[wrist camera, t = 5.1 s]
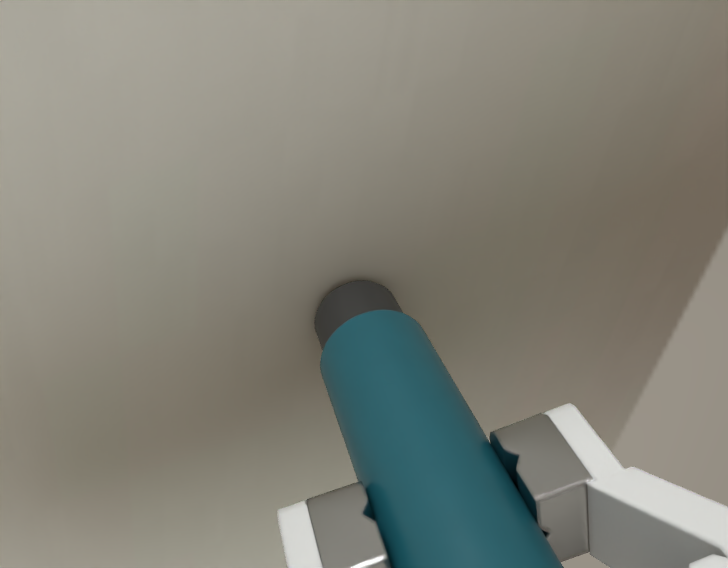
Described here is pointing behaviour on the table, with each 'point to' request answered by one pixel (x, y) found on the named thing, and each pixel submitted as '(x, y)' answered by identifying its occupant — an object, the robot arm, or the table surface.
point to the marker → (419, 442)
